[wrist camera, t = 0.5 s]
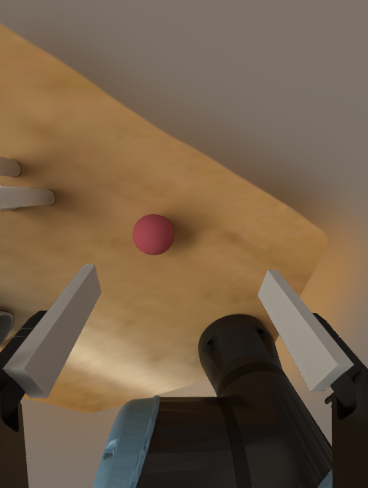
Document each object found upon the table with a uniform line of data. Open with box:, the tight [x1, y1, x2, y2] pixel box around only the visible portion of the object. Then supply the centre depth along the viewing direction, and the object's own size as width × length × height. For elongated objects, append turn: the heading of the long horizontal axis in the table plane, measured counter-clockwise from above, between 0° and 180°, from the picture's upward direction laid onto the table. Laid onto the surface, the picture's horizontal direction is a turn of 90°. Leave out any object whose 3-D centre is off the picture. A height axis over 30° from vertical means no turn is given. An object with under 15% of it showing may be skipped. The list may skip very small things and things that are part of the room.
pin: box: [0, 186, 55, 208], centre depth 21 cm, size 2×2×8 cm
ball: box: [133, 214, 174, 255], centre depth 25 cm, size 6×6×6 cm
